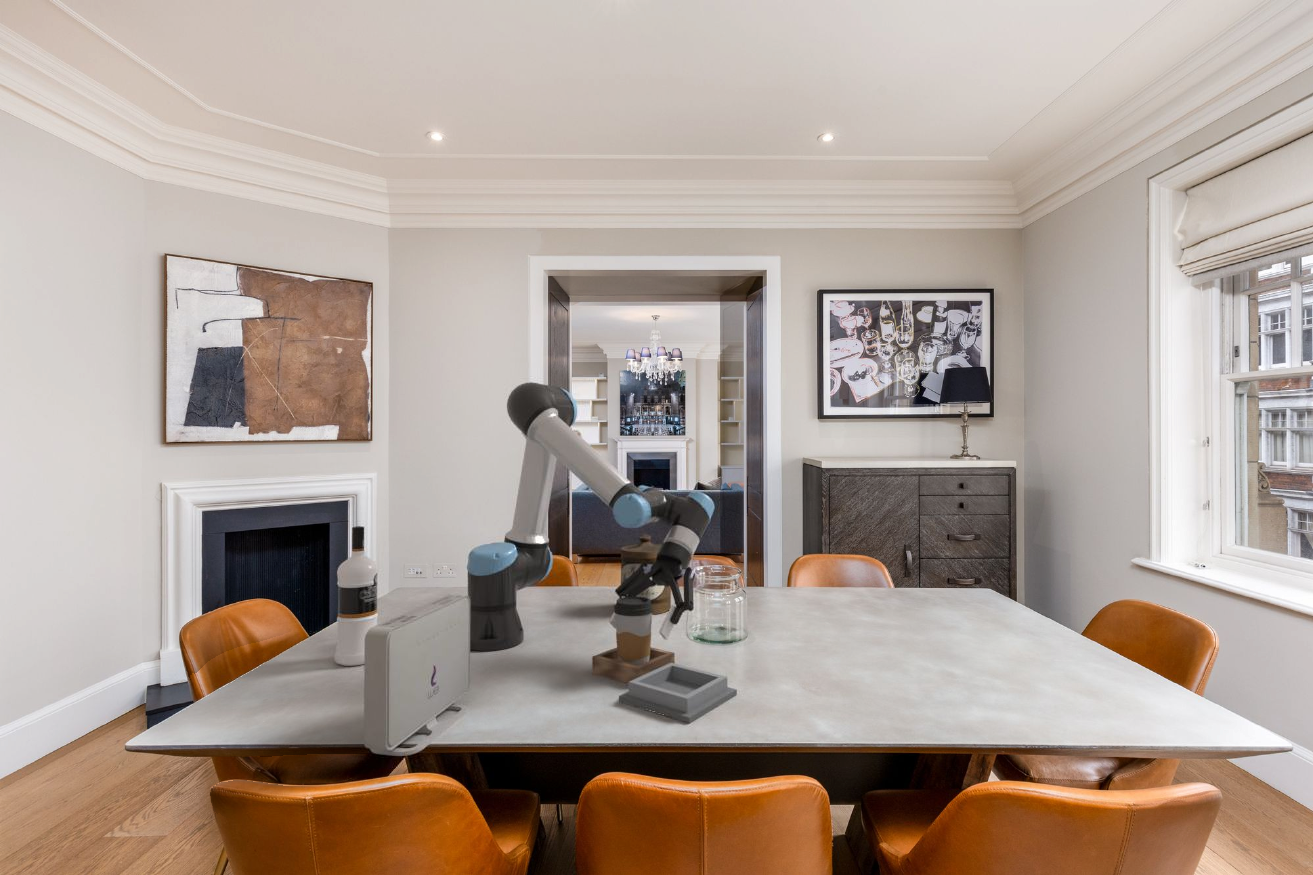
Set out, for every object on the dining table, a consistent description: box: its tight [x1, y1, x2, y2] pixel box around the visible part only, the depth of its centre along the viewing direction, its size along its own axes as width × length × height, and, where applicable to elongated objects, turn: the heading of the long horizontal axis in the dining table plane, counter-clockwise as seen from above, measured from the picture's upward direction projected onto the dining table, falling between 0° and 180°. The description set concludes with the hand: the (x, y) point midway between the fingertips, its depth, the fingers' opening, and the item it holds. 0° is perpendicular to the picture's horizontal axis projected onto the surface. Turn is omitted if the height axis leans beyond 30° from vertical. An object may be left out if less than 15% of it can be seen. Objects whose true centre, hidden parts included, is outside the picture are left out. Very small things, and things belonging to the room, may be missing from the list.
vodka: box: [333, 525, 379, 667], centre depth 142 cm, size 9×9×30 cm
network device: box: [363, 594, 471, 757], centre depth 107 cm, size 26×9×20 cm, turn 168°
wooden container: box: [620, 533, 672, 616], centre depth 188 cm, size 15×15×22 cm
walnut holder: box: [591, 646, 676, 685], centre depth 135 cm, size 12×12×4 cm
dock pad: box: [618, 663, 738, 724], centre depth 120 cm, size 16×16×4 cm
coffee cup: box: [613, 597, 653, 666], centre depth 135 cm, size 8×8×15 cm
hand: (637, 630), depth 134 cm, fingers open, 13 cm apart
